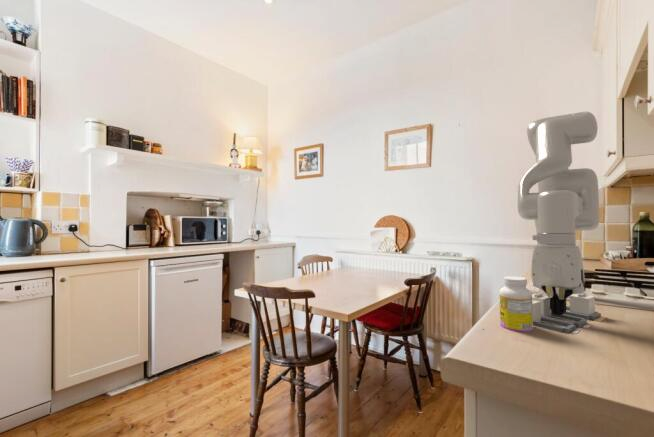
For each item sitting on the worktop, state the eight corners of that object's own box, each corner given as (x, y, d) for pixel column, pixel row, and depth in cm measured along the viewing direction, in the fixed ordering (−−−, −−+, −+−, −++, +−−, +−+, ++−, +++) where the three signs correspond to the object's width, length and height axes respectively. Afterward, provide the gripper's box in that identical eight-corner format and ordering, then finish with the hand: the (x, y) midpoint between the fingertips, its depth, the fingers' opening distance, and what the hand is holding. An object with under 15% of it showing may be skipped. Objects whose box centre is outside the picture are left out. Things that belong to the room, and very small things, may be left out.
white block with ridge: (534, 312, 85) (533, 291, 85) (551, 316, 81) (550, 294, 81) (526, 315, 83) (526, 293, 83) (543, 319, 79) (543, 296, 79)
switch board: (544, 308, 93) (543, 285, 93) (610, 321, 80) (609, 295, 80) (504, 323, 81) (503, 296, 81) (574, 341, 68) (573, 310, 68)
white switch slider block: (576, 312, 84) (575, 291, 84) (595, 315, 81) (594, 294, 81) (570, 314, 82) (569, 293, 82) (589, 318, 79) (588, 296, 79)
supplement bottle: (502, 325, 79) (501, 274, 79) (533, 330, 75) (532, 276, 75) (498, 333, 73) (497, 278, 74) (532, 339, 70) (531, 281, 70)
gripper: (517, 239, 83) (518, 309, 82) (588, 242, 70) (590, 325, 70) (530, 238, 87) (532, 305, 87) (600, 240, 74) (601, 318, 74)
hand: (558, 313), depth 78 cm, fingers closed
